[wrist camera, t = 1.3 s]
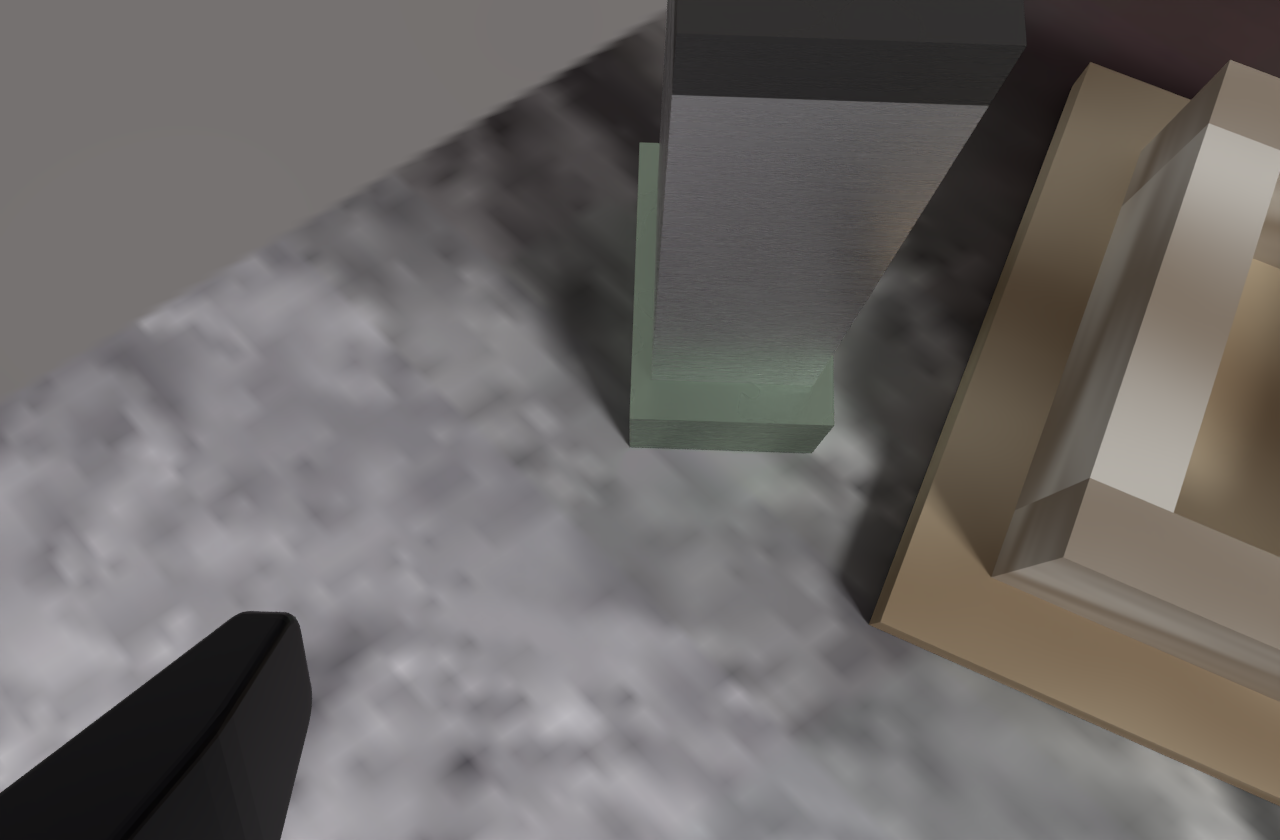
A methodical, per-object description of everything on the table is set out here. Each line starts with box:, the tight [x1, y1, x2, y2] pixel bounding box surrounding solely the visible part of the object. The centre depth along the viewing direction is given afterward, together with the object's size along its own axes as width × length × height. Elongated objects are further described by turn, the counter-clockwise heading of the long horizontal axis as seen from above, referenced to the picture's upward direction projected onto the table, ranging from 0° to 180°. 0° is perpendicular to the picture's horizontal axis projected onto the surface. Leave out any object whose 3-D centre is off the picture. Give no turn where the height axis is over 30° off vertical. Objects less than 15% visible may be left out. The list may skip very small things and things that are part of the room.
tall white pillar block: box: [630, 0, 1027, 453], centre depth 16 cm, size 6×4×14 cm, turn 178°
